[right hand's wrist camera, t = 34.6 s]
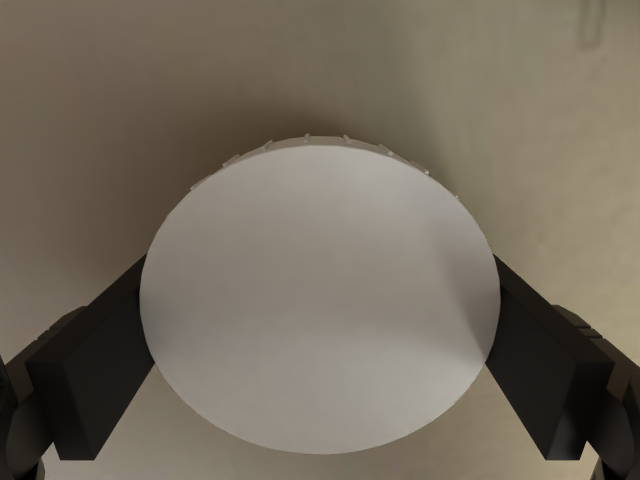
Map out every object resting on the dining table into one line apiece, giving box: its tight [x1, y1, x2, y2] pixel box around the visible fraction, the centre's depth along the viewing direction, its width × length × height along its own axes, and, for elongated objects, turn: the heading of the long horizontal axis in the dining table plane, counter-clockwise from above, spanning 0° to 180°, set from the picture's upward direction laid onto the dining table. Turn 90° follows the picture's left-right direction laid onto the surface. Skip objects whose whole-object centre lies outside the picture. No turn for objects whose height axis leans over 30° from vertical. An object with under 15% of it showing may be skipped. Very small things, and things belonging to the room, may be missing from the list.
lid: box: [139, 134, 501, 454], centre depth 11 cm, size 10×10×2 cm
